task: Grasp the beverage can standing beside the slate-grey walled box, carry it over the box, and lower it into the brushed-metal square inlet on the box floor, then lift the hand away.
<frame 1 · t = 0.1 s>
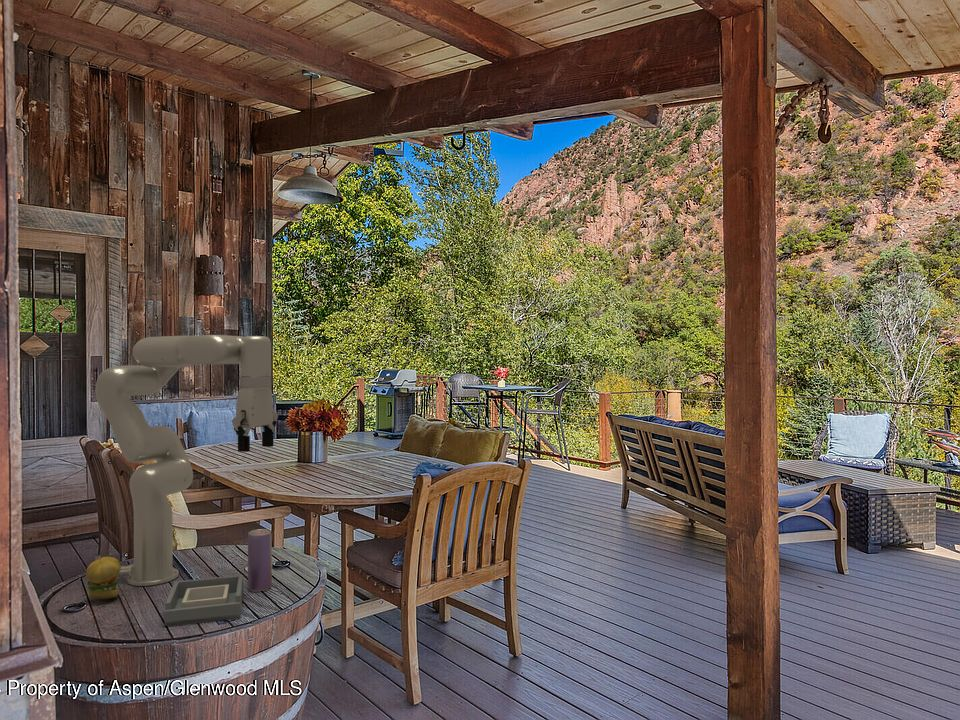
hand: (256, 448, 166), 37 cm above the table, tool pointing down, fingers open, 9 cm apart
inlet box: (206, 609, 154), on the table
hamburger: (103, 601, 160), on the table
beverage can: (259, 589, 168), on the table
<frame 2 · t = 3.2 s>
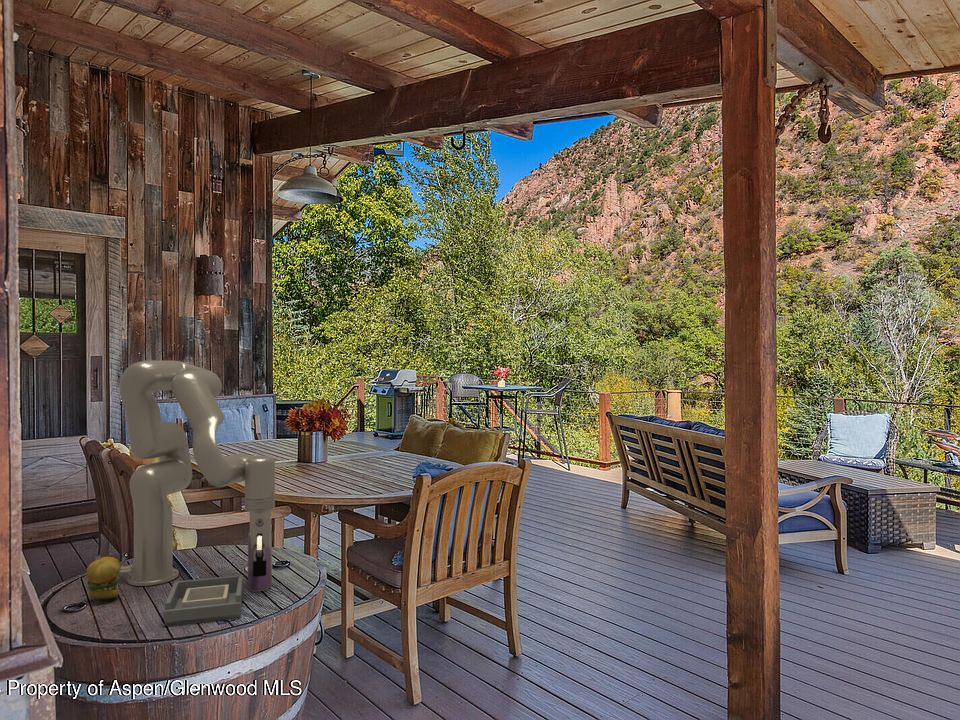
hand: (259, 571, 168), 5 cm above the table, tool pointing down, fingers closed on beverage can, 6 cm apart
beverage can: (259, 589, 168), on the table, touching gripper
everything else where it was.
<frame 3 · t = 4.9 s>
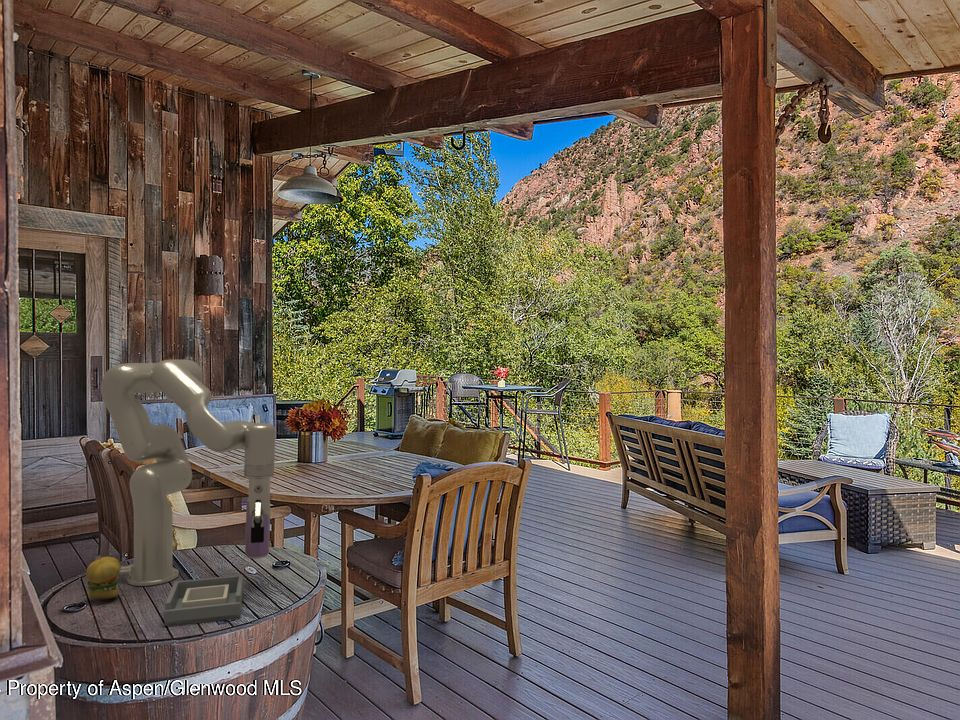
hand: (257, 538, 168), 13 cm above the table, tool pointing down, fingers closed on beverage can, 5 cm apart
beverage can: (257, 556, 168), point 8 cm above the table, touching gripper
everything else where it was.
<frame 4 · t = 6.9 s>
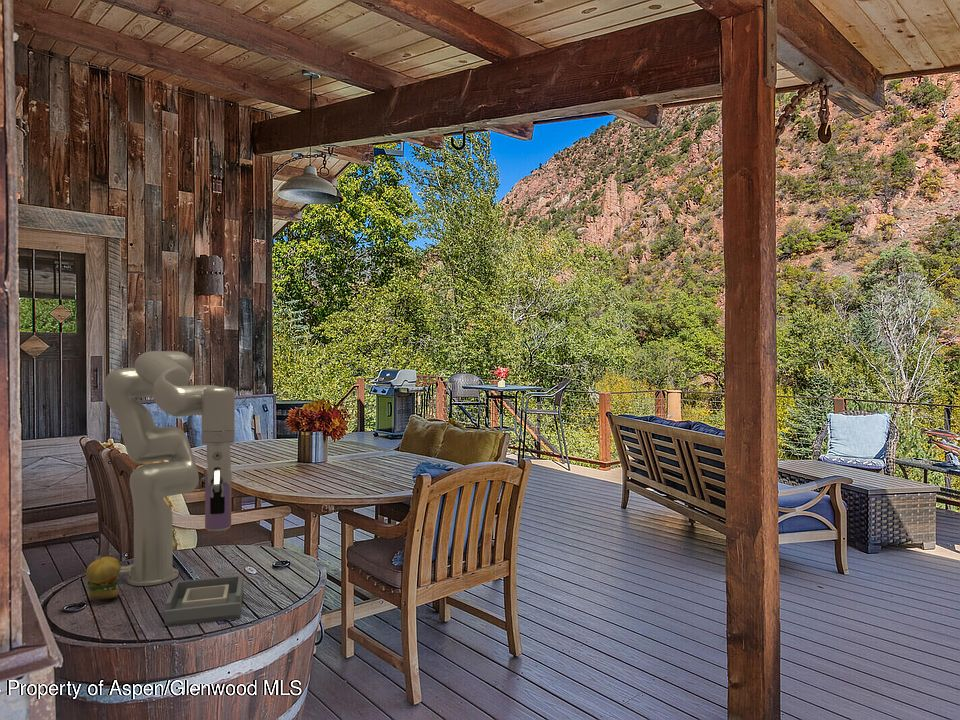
hand: (218, 509, 157), 23 cm above the table, tool pointing down, fingers closed on beverage can, 5 cm apart
beverage can: (218, 529, 157), point 19 cm above the table, touching gripper
everything else where it was.
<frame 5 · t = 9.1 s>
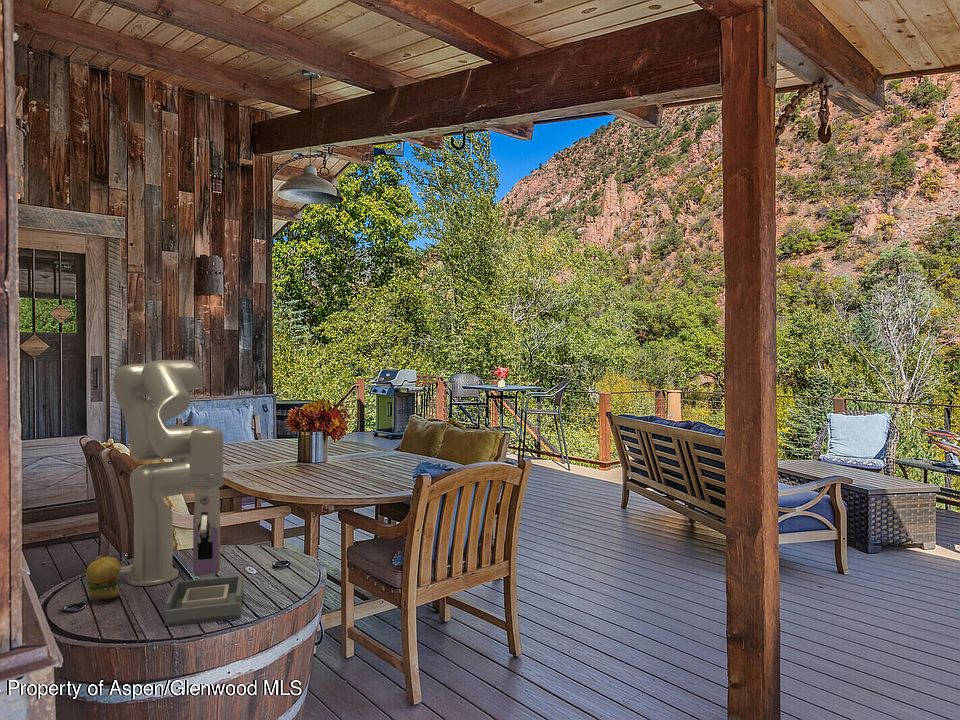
hand: (206, 554, 154), 13 cm above the table, tool pointing down, fingers closed on beverage can, 5 cm apart
beverage can: (206, 574, 154), point 9 cm above the table, touching gripper
everything else where it was.
when the fingers open (7 cm above the table, at t = 10.8 s): beverage can drops 1 cm, resting on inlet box.
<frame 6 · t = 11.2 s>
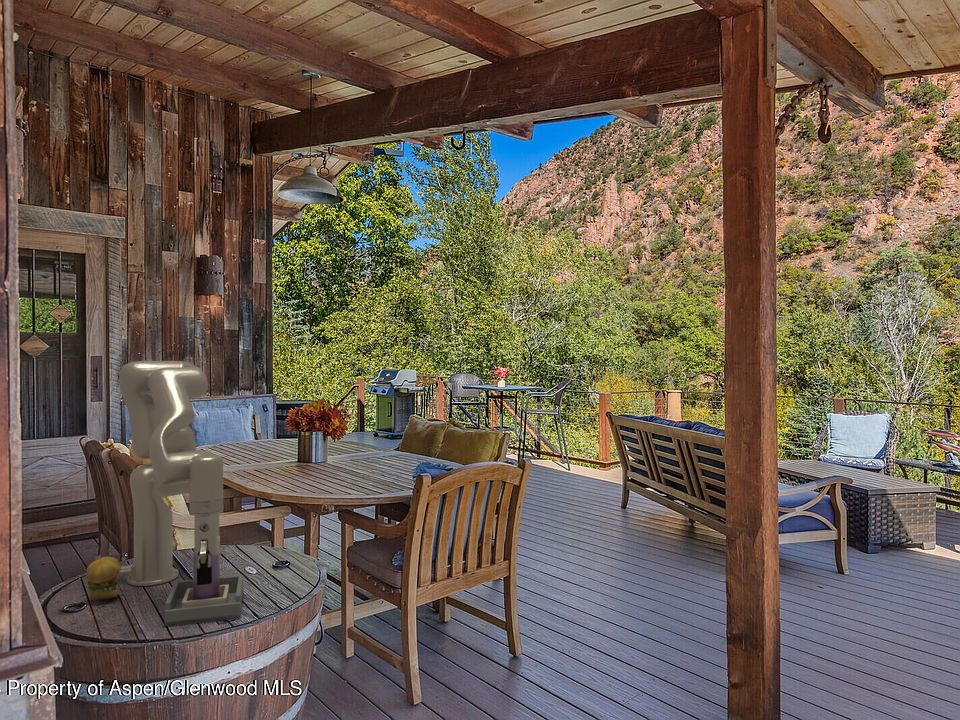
hand: (206, 577, 154), 8 cm above the table, tool pointing down, fingers open, 9 cm apart
beverage can: (206, 605, 154), point 1 cm above the table, touching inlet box
everything else where it was.
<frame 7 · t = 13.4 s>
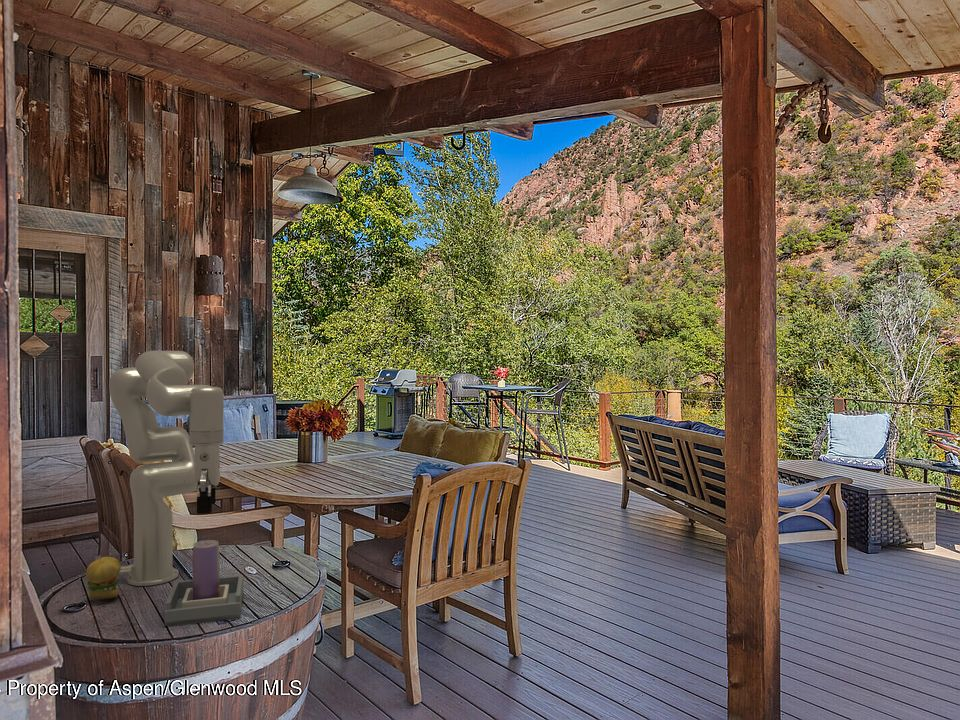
hand: (206, 508, 154), 24 cm above the table, tool pointing down, fingers open, 9 cm apart
nothing on the table moved.
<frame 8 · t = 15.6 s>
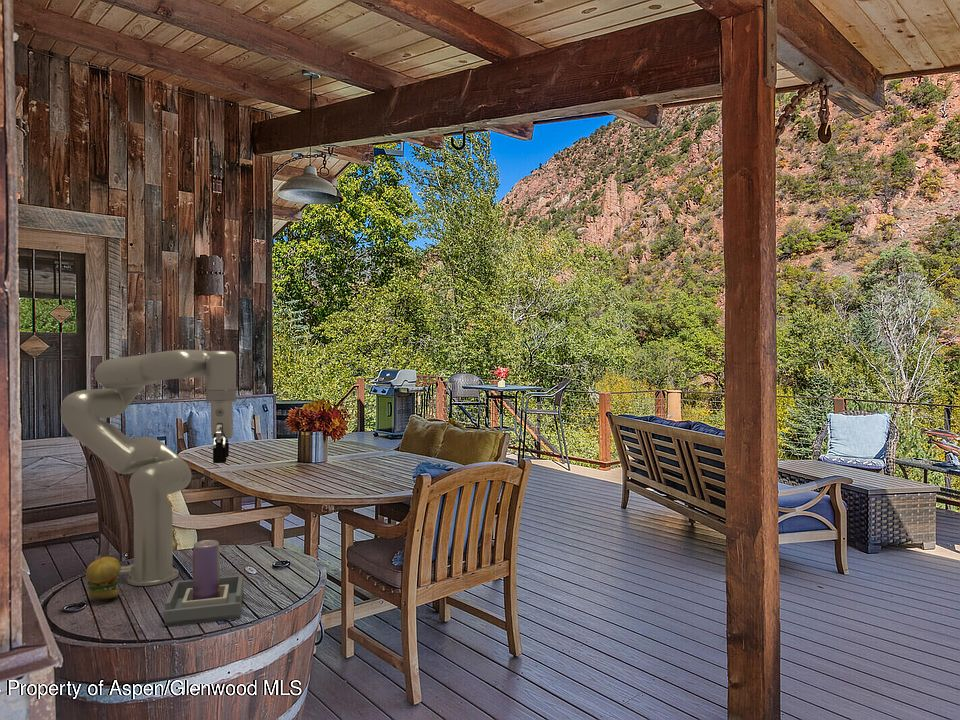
hand: (221, 460, 172), 33 cm above the table, tool pointing down, fingers open, 9 cm apart
nothing on the table moved.
at the end: beverage can 0.2 cm off-centre on the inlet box, point 0.8 cm above the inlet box's base; beverage can tilted 0°; the gripper is holding nothing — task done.
